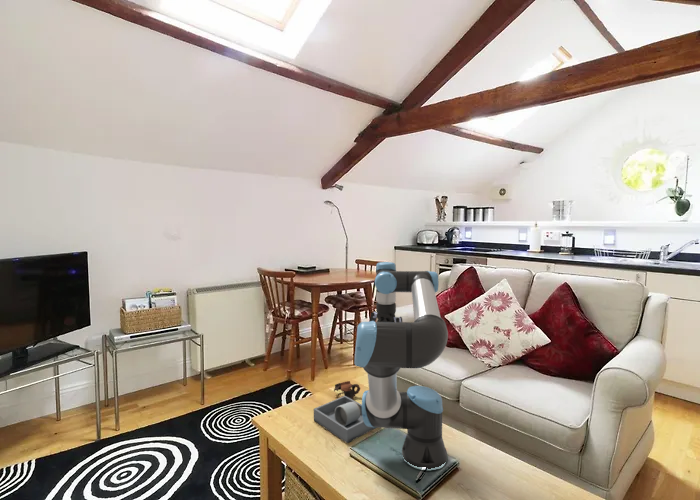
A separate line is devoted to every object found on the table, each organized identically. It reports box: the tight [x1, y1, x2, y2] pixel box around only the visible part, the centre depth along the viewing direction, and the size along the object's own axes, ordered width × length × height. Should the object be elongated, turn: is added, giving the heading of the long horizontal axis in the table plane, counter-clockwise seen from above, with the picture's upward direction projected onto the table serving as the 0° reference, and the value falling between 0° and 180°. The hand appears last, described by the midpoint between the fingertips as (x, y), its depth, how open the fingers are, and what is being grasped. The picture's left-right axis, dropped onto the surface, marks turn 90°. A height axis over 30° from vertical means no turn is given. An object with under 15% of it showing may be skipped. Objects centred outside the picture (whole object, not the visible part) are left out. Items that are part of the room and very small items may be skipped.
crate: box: [313, 395, 376, 444], centre depth 152 cm, size 21×17×5 cm
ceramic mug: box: [334, 402, 361, 426], centre depth 152 cm, size 11×8×8 cm
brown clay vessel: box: [333, 380, 361, 400], centre depth 174 cm, size 12×10×8 cm
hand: (386, 356), depth 149 cm, fingers open, 13 cm apart
